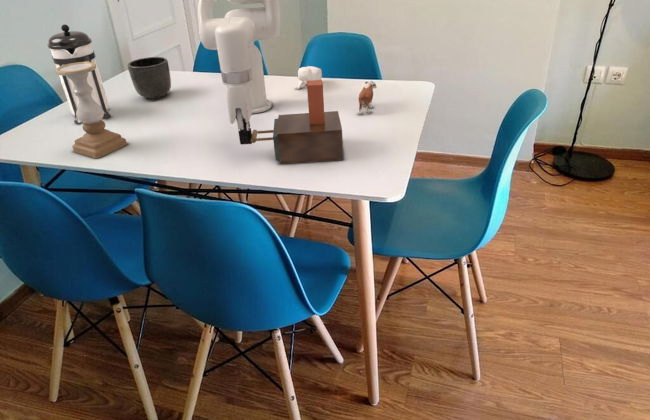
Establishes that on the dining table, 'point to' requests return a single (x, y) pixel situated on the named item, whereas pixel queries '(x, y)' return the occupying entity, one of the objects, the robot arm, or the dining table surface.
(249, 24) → the robot arm
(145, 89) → the planter
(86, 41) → the coffee press
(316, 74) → the white lamb toy
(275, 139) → the drawer
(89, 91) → the candle holder
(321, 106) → the block
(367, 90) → the bull figurine
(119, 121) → the dining table surface
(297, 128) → the cabinet
